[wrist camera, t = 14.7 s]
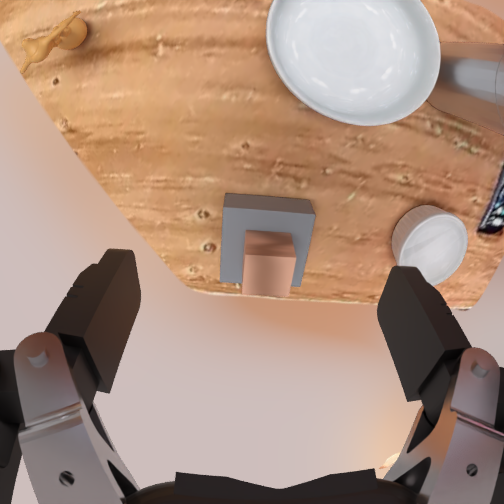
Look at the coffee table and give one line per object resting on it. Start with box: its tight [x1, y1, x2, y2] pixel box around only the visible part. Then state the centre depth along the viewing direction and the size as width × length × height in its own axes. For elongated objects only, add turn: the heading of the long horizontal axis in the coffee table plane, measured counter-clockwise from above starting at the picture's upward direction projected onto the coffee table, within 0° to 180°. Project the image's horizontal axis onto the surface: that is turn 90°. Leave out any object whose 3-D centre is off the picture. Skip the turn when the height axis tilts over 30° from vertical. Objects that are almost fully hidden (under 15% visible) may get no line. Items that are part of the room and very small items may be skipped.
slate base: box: [220, 193, 316, 287], centre depth 38 cm, size 10×10×4 cm
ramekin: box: [392, 205, 468, 286], centre depth 38 cm, size 11×11×5 cm
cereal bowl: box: [266, 0, 441, 126], centre depth 24 cm, size 17×17×7 cm
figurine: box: [20, 11, 87, 74], centre depth 21 cm, size 8×6×12 cm
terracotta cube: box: [242, 230, 296, 297], centre depth 34 cm, size 5×5×5 cm
